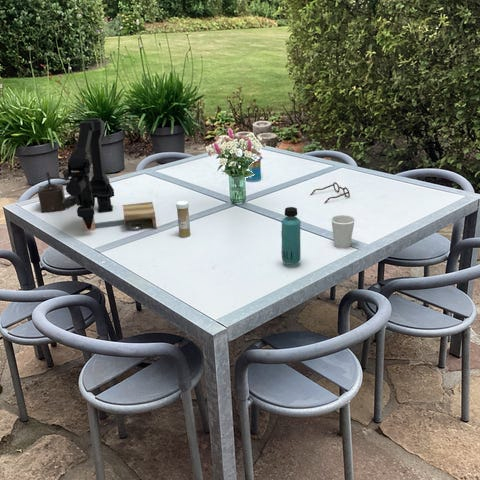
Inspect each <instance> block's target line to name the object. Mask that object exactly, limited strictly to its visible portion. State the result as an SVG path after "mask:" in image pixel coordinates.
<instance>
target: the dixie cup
mask: <svg viewBox="0 0 480 480" xmlns="http://www.w3.org/2000/svg"><path fill="white" fill-rule="evenodd" d="M330 221H331V227H332V229H331V230H332V235H333V236H332V238H333V245H334V247H335V248H338V249H347V248H350V247H351V242H352V237H353V231H354V226H355V221H356V219H355V217H353V216H351V215H348V214H338V215H333V216H332V217H331V218H330Z"/></svg>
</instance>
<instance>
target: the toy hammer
mask: <svg viewBox="0 0 480 480" xmlns="http://www.w3.org/2000/svg"><path fill="white" fill-rule="evenodd" d="M82 222H83V228H84V231H85V232H90V231H96V230H97V229H104V228H111V227H118V226H119V227H121V226H126V222H125V220H124V219H117V220H110V221H100V222H95V216H94V217H93V221H92V225H91V229H88V228H87V226H86V224H85V222H84V220H83V219H82Z"/></svg>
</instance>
